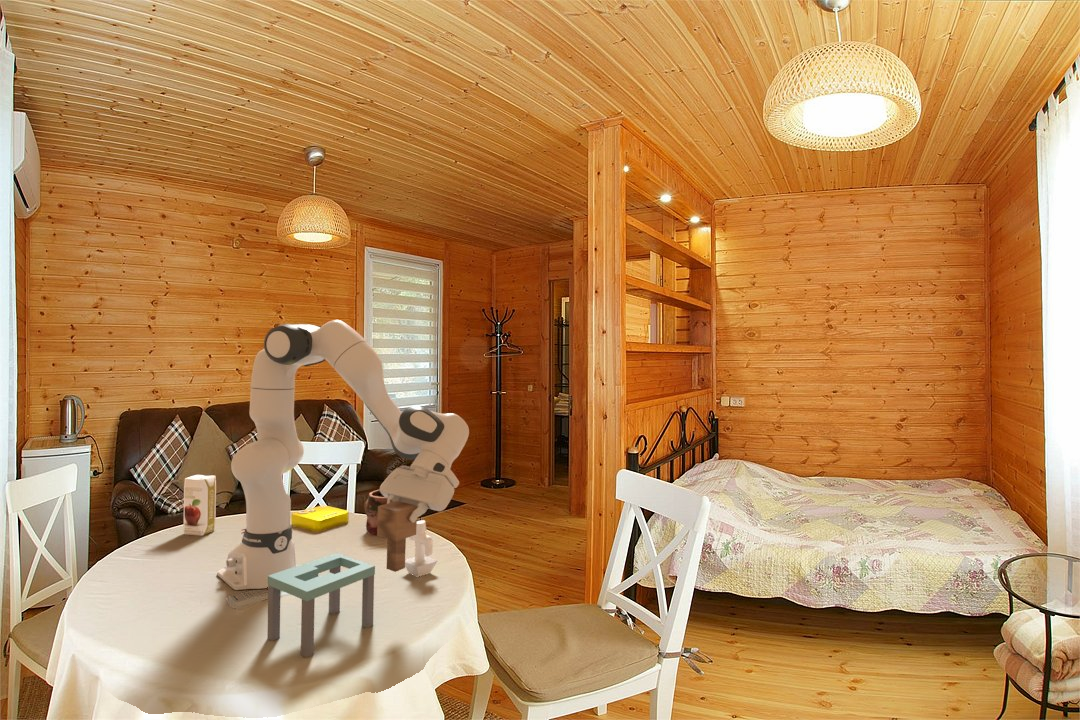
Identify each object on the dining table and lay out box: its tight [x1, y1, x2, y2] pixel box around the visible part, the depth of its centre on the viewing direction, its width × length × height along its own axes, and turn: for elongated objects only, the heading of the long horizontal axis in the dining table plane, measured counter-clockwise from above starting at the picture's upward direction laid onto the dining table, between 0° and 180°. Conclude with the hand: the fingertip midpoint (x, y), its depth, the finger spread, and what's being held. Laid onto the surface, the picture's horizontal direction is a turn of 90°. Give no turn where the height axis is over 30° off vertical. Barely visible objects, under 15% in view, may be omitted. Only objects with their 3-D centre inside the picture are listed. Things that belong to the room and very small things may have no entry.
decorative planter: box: [363, 489, 388, 537], centre depth 204 cm, size 20×12×14 cm, turn 42°
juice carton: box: [183, 474, 217, 537], centre depth 199 cm, size 8×9×19 cm
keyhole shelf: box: [266, 552, 376, 659], centre depth 134 cm, size 18×14×14 cm
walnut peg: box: [376, 501, 418, 573], centre depth 140 cm, size 6×6×15 cm
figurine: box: [405, 519, 438, 578], centre depth 169 cm, size 7×9×15 cm
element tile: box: [290, 504, 350, 533], centre depth 213 cm, size 15×15×5 cm
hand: (398, 517), depth 140 cm, fingers closed on walnut peg, 6 cm apart
